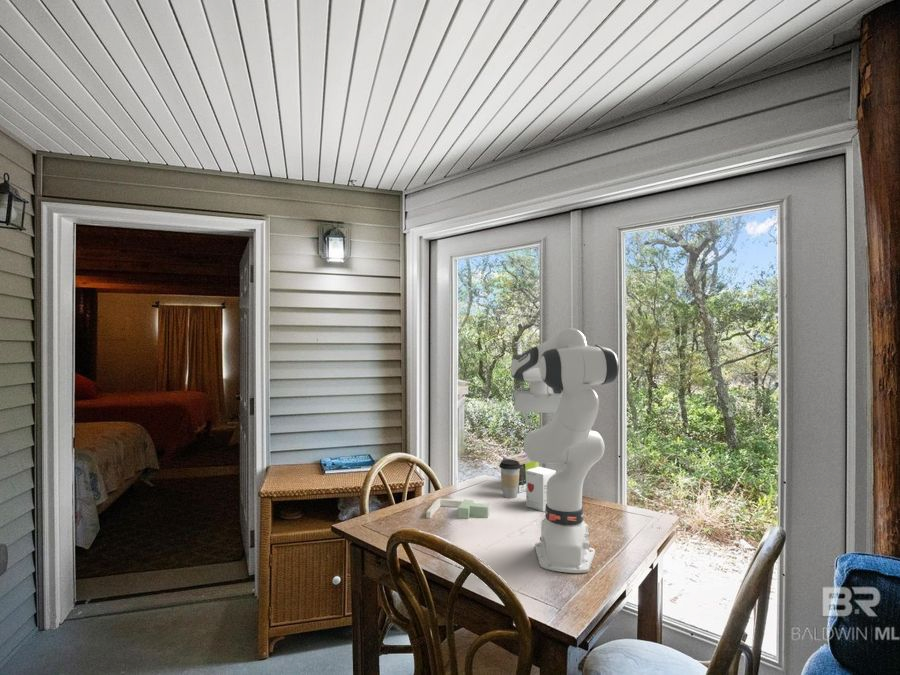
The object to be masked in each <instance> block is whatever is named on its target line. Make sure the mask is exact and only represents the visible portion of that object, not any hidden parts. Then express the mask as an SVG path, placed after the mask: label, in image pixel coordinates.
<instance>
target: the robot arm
mask: <svg viewBox="0 0 900 675" xmlns="http://www.w3.org/2000/svg"><path fill="white" fill-rule="evenodd" d="M619 365H620V364H619V359H618V356H617V354H616V353H615V352H614V351H613V350H612V349H610V348H609V347H604V346H601V345H600V344H598V343H596V344H594V345H588V343H587V339H586V336H585V335H584V333H582V332H581V331H580V330H578V329H577V328H572V327H568V328H563V329H561V330H560V331H557V333H555V334H553V336H551V338H550V339H548V340H546V341H545V342H542V343H540V344H538V345H535V346H533V347H531V348H529V349H527V350H526V351H525V352H523V353H522V354H521V353H520V354H519V353H518V354H517V355H515V356H514V357H513V358H512V360H511V362H510V374H511V376H512V378H513V379H514V380H516V381H517V382H519V383H520V382H521V383H522V382H529V383H528V384H529V385H528V386H529V387H518V388H516V389H514V390H513V398H514V405H513V410H514V411H515V412H516V413H518V412H519V413H522V415H523V417H524V418H525V424H526V425H530V423H531V422H530V421H531V419H530V418H528V416H527V415H528V413H540V414H541V413H543V414H545V413H547V414H553V418H552V419H550V421H549V422H548V423H545V425H543V426H541V427H538V428H537V429H534V430H531V431H529V432H528V433H527V434H526V436H525V437H524V441H523V450H524V453H526V455H527V457H528V458H529V459H530V460H531V461H534V462H539V464H540V463H541V464H546V465H547V464H549V465H550V464H553V465H554V464H558V465H559V464H561V465H562V464H564V465H563V467H562V469H561V470H560V471H558V472H556V474H554V475H552V476H551V477H550V478H549V480H548V482H547V504H546V508H545V511H544V513H545V515H544V516H545V518H543V519H542V520H541V523H540V524H541V525H540V526H541V527H540V530H541V531H540V532H541V534H540V537H539V541H538V542H535V543H534V549H535V553H536V556H537V559H538V563H539V566H540V567H541V568H543V569H546V570H549V571H554V572H561V573H569V574H570V573H571V574H584V573H585V574H586V573H588V572H589V570H590V568H591V565H592V562H593V560H594V557H595V556H596V550H595V549H594V548H592V547H591V541H589V539H590V533H589V525H588V524H587V523H586V522H585V521H584V520H585V518H584V515H585V511H584V506H583V486H584V482H585V478H586V476H587V474H588V473H589V471H590V469H591V468H592V467H593V466H594V465H595V464H596V463H597V462H599V461H600V460H601V459H602V458H603V455H604V453H605V449H606V448H605V447H606V445H605V442H604V439H603V437H602V435H601V434H600V433H599V432H598V431H595V430H592V428H593V426H594V424H595V422H596V419H597V417H598V412H599V407H600V406H599V405H600V400H599V395H598V394H597V392H596V390H594V389H593V388H592V387H591V386H596V385H603V386H604V385H607V384H611V383H613V382H615V381H616V379H617V378H618V375H619V369H620V368H619V367H620V366H619Z"/></svg>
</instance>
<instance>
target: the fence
mask: <svg viewBox="0 0 900 675" xmlns="http://www.w3.org/2000/svg"><path fill="white" fill-rule="evenodd" d="M463 500H464V499H463ZM463 500H462V499H453V498H452V499H451V498H437V499H436V500H435V501H434V503H433V504H432V505H431V506H430V507H429V508H428V509H427V510H426V519H431V518H432V517H433V516H434V514H435V513H436V512H437V510H439V508H441V507H449V508H450V507H451V508H458V507H459V506H460V504H461V503H462V501H463Z"/></svg>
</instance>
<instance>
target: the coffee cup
mask: <svg viewBox="0 0 900 675" xmlns="http://www.w3.org/2000/svg"><path fill="white" fill-rule="evenodd" d="M498 464H499V465H498V467H499V468H500V478H501V485H502V493H503V494H502V495H503V497H504V498H506V499H515V498H517V497H518V493H517V492H518V485H519V474H520V473H519V470H520V467H521V466H520V464H519V462H518V461H515V460H503V459H502V460H501V461H500V463H498Z"/></svg>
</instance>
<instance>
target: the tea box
mask: <svg viewBox="0 0 900 675" xmlns="http://www.w3.org/2000/svg"><path fill="white" fill-rule="evenodd" d="M503 460H515V461H518V462H519V464H520V466H521V467H520V470H519V473H520V474H519V485H518V492H517V494H520V493H523V492H526V470H528V469H532V468H536V467H540V463H539V462H534V461H531V460H530V459H529V458H528V457H527V455H526V453H525V452H520V453H517V454H516V453H515V454H512V455H509V456H505V457H504V456H503V457H502V461H503Z"/></svg>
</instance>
